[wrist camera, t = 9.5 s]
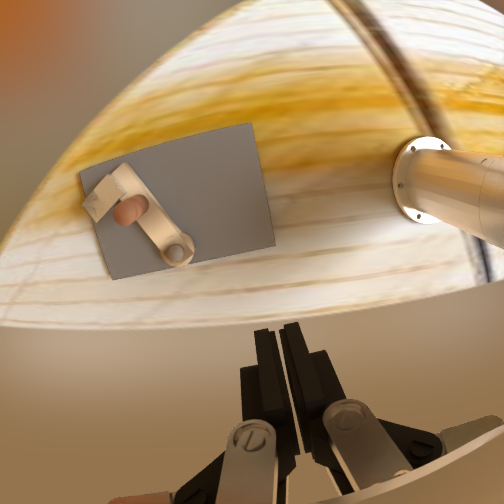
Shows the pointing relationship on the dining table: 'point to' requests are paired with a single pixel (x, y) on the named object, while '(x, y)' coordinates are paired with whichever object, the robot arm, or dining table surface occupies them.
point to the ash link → (151, 218)
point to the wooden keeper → (104, 198)
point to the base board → (191, 199)
